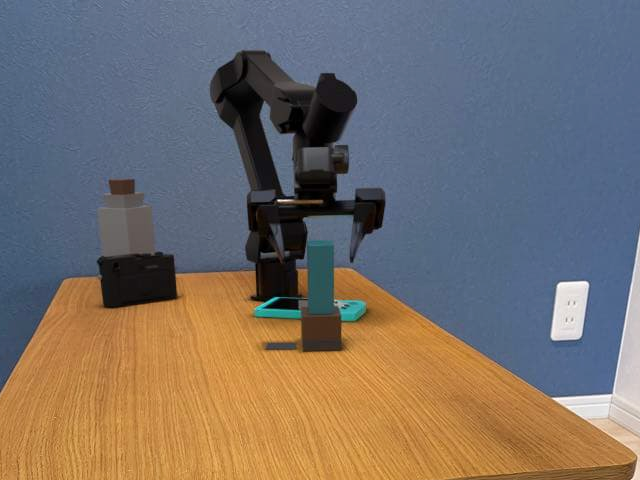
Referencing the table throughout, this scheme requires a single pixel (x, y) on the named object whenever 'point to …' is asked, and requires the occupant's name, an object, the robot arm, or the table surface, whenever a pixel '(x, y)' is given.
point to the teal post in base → (320, 300)
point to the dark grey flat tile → (281, 345)
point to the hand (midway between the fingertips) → (317, 261)
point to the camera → (137, 279)
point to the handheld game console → (292, 306)
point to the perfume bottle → (125, 221)
